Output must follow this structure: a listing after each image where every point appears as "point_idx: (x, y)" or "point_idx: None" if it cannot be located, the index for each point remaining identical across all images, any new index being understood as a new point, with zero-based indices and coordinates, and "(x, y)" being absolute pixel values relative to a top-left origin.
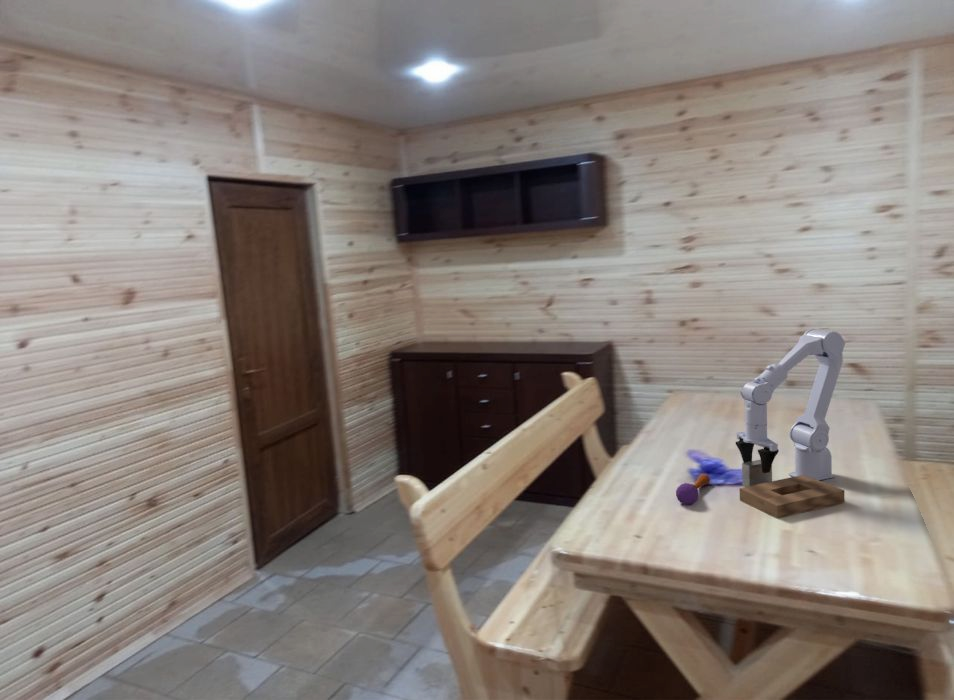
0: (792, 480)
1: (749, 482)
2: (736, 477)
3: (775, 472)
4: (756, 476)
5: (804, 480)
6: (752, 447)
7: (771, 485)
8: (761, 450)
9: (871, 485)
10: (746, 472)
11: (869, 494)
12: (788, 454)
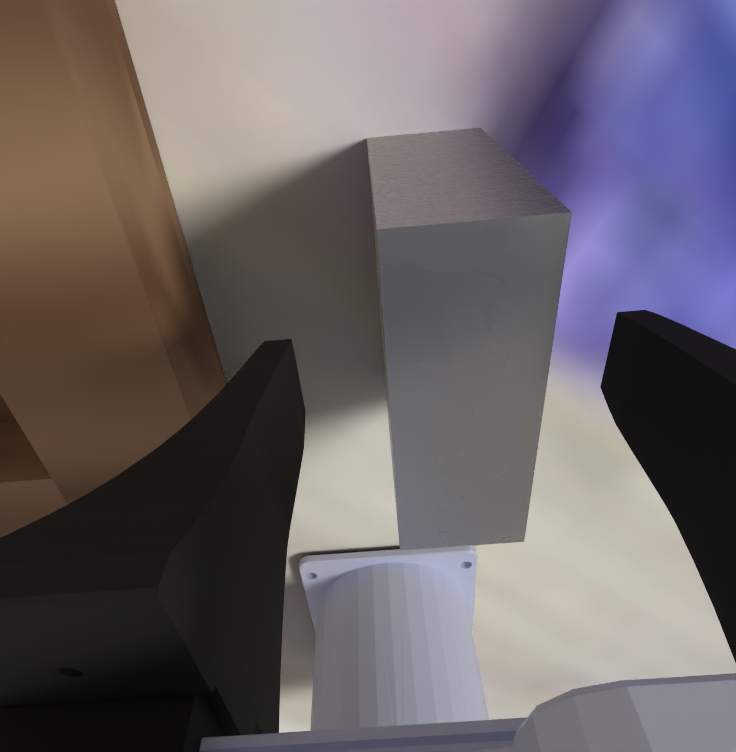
0: None
1: (369, 155)
2: (692, 222)
3: (561, 513)
4: (378, 278)
5: None
6: (724, 606)
7: (16, 237)
8: (68, 626)
9: None
10: (432, 181)
11: None
12: (716, 671)
